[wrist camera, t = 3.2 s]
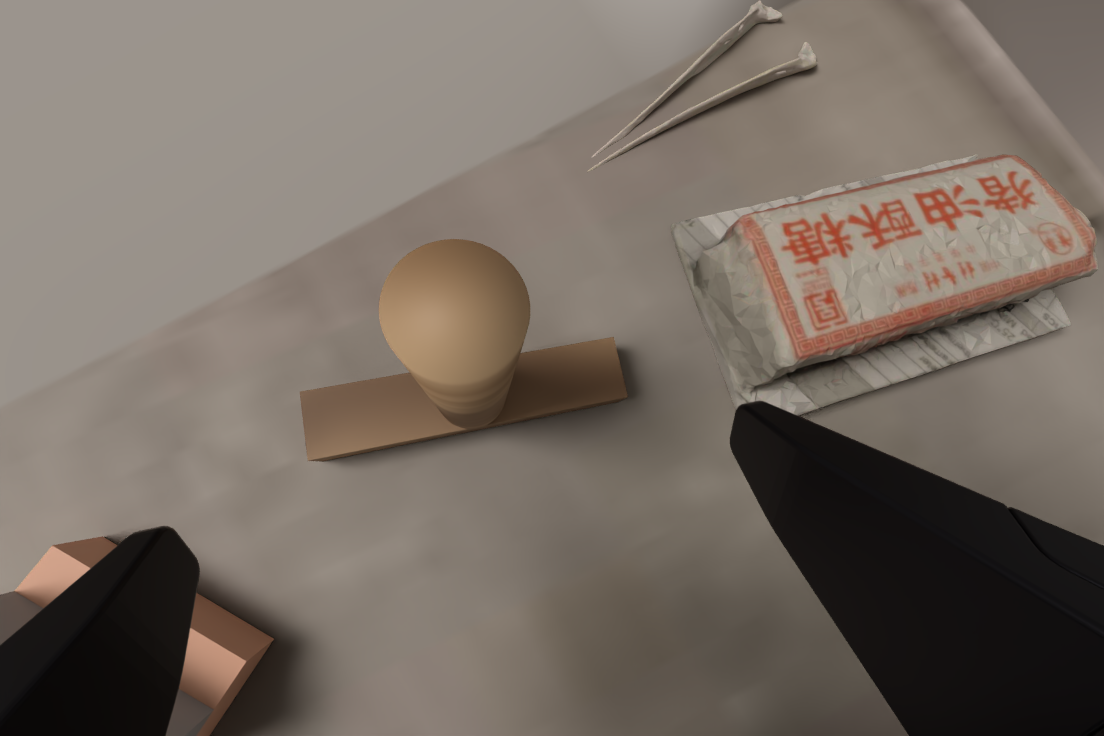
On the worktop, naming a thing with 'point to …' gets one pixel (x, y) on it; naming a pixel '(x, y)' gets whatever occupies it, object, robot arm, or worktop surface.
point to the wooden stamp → (457, 360)
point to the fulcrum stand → (213, 646)
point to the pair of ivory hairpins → (753, 17)
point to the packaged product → (882, 278)
